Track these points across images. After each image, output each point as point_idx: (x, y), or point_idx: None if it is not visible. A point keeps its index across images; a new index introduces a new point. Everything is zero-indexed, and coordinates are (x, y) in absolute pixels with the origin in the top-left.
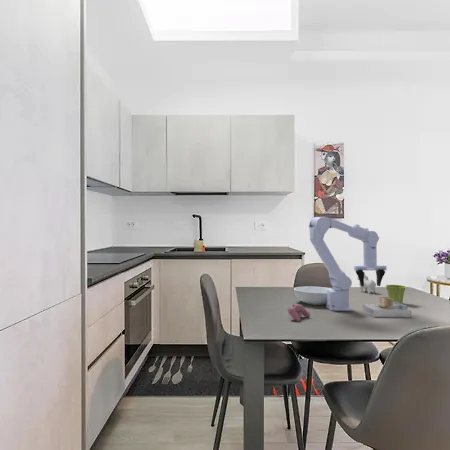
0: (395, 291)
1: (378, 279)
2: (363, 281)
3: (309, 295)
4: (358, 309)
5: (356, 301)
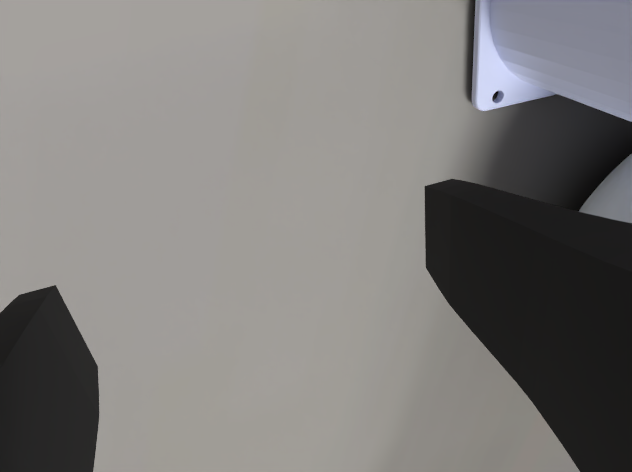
0: None
1: (28, 456)
2: (510, 216)
3: None
4: (366, 22)
5: (289, 409)
